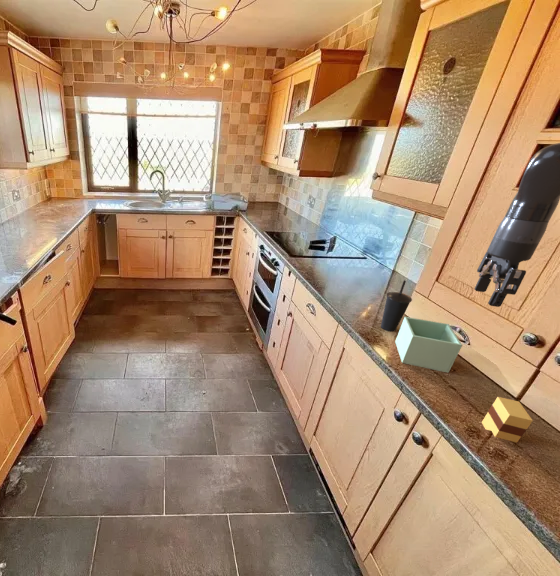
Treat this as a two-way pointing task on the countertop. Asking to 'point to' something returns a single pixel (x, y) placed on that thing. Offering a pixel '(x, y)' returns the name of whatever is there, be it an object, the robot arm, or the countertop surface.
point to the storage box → (427, 344)
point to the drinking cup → (394, 309)
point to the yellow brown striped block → (507, 419)
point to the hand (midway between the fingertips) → (486, 298)
